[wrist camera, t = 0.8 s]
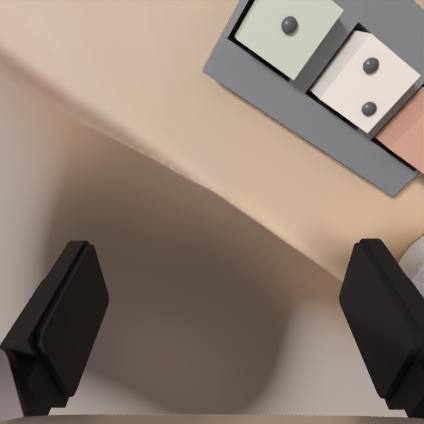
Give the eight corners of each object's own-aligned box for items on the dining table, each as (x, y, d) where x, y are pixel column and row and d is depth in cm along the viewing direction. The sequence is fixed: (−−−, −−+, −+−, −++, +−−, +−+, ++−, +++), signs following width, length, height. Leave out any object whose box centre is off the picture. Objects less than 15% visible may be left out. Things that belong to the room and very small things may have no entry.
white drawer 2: (353, 30, 28) (372, 33, 25) (398, 67, 30) (422, 76, 26) (308, 89, 31) (320, 100, 27) (352, 120, 33) (368, 134, 29)
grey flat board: (291, -96, 25) (300, -107, 22) (486, 84, 32) (509, 90, 30) (203, 66, 32) (202, 71, 29) (381, 184, 39) (392, 196, 36)
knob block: (274, -36, 26) (283, -43, 22) (328, 9, 27) (345, 10, 24) (234, 35, 28) (236, 39, 25) (285, 72, 30) (294, 81, 27)
